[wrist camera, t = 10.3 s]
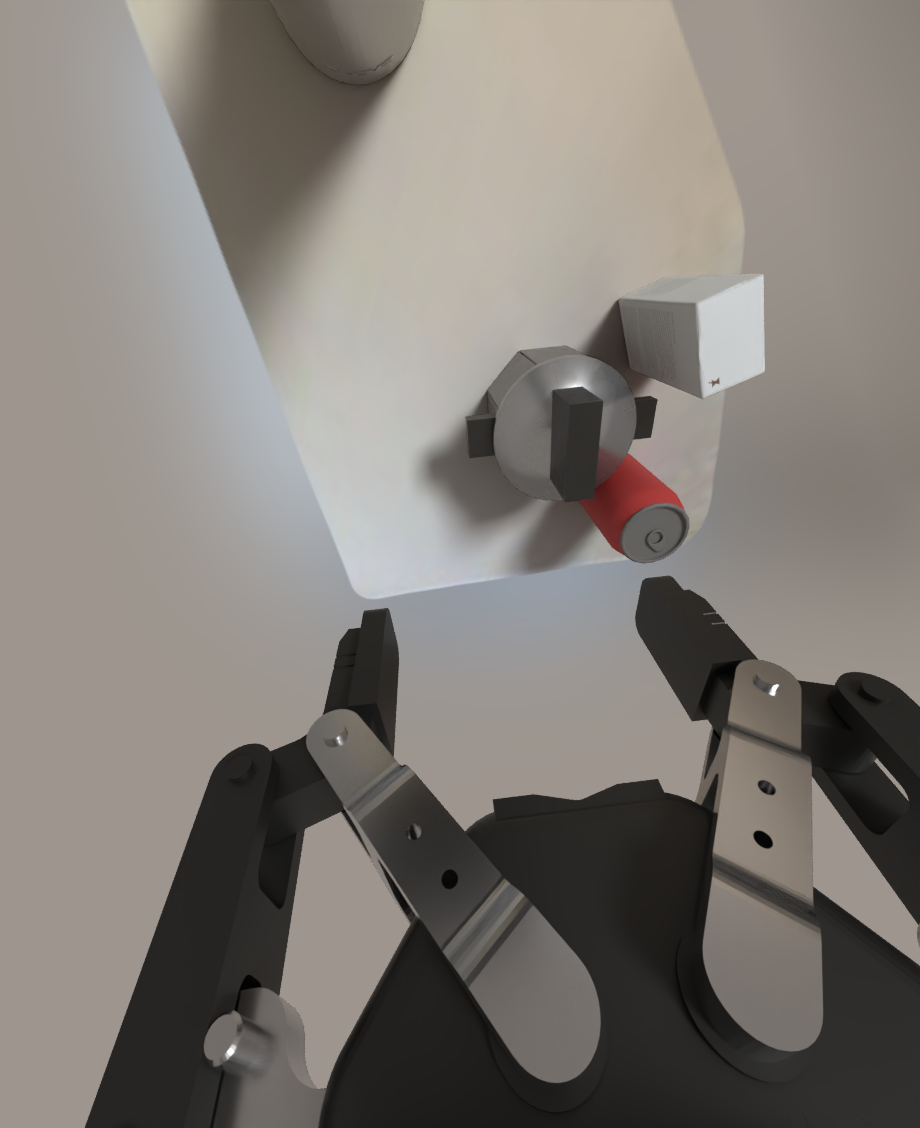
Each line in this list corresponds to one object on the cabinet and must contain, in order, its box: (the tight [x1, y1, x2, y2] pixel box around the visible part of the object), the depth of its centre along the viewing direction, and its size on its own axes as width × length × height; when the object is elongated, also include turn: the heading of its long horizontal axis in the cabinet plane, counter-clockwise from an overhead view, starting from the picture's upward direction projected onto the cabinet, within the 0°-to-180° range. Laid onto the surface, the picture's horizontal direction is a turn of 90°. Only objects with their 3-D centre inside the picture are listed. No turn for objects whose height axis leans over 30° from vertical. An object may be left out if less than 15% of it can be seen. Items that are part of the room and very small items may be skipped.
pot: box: [465, 346, 657, 458], centre depth 37 cm, size 10×15×7 cm, turn 95°
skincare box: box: [618, 274, 765, 399], centre depth 31 cm, size 6×4×12 cm
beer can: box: [579, 453, 689, 563], centre depth 39 cm, size 7×7×12 cm
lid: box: [493, 355, 637, 502], centre depth 32 cm, size 11×11×5 cm
